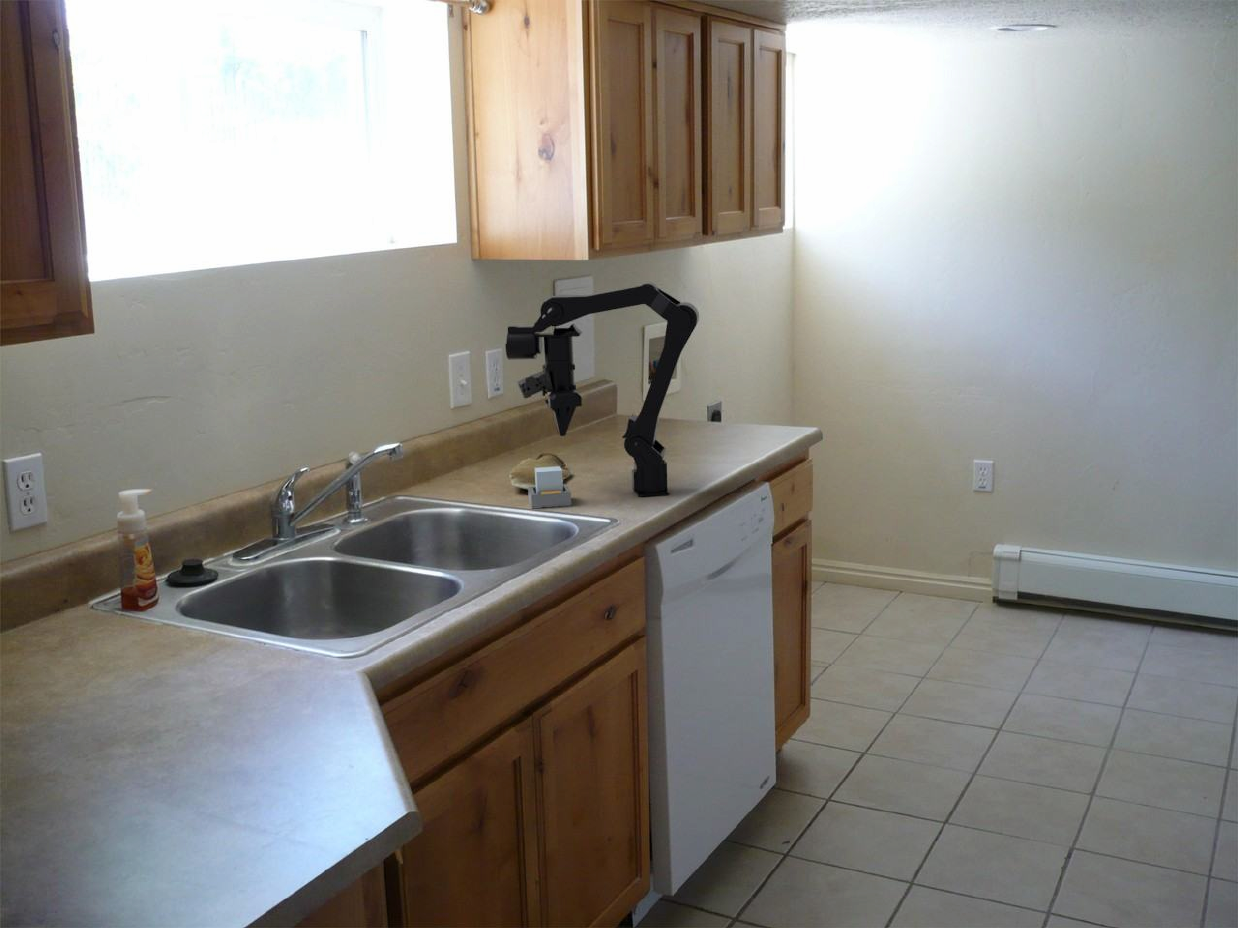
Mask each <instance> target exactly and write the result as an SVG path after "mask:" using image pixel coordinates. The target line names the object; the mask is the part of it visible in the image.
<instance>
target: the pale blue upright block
mask: <svg viewBox="0 0 1238 928" xmlns="http://www.w3.org/2000/svg"><path fill="white" fill-rule="evenodd" d="M563 484H564V481H563V482H562V470H561V468H560V466H556V467H541V468H535V485H536V493H540V492H542V491H556V490H561V492H563Z"/></svg>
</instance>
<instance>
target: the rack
mask: <svg viewBox="0 0 1238 928" xmlns="http://www.w3.org/2000/svg"><path fill="white" fill-rule="evenodd" d="M527 494H528V495H527V496H528V498H527V499H528V503H529V502H530V503H529V505H530V508H531V507H532V508H535V509H543V508H542V507H548V508H557V507H558V508H560V507H559V506H562V507H572V493H571V490H570V488H569V486H568V484H567V483H563V492H561V490H556V491H542V492H540V493H536V486H534V487H528V489H527ZM532 508H531V509H532Z"/></svg>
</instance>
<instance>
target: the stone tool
mask: <svg viewBox="0 0 1238 928" xmlns="http://www.w3.org/2000/svg"><path fill="white" fill-rule="evenodd" d="M556 466H560V468H561V470H562V482H563V483H564V480H567V479H568V478H569V477H570V476H571V474H572V471H571V470H568V469H565V468H566V466H567V465H566V464H565V462H564V461H563V460H562V459H561V458H560V457H558V455H556V454H552V453H549V452H548V453H541V454H539V455H538V457H537V458H536V459H534V458H531V457H528V458H527V459H523V460H522V461H520V462H519V463H518V464H517V465H515V466H514V467H513V468H512V469H511V470H510V472H509V479H510V483H511V486H512V487H514V488H519V489H523V490H528V487H534V486H536V485H535V468H541V467H556Z"/></svg>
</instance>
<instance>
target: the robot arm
mask: <svg viewBox="0 0 1238 928" xmlns="http://www.w3.org/2000/svg"><path fill="white" fill-rule="evenodd" d="M640 305H646V306H648V307H649V308H650V309H651V310H652V311H653V312H655V313H656V314H657V315H658V316H660V318H662V319H663V320H665V321H667V322H666V327H665V334H664V335H665V336H664V343H663V347H662V350H661V354H660V356H659V359H658V362H657V365H656V368H655V371H654V374H653V376H652V379H651V381H650V385H649V388H648V390H647V394H646V396H645V399H644V402H643V405H642V407H641V411H640V412H639V414H638V416H637V415H636V414H634V413H631V415H630V417H629V418H628V422H627V428H626V430H625V432H624V433H623V435H622V436H621V438H622V439H624V442H623V448H624V449H625V452H626V454H628V455H629V456H630V457H631V458H633V469H631V490H632V491H633V492H634V493H635V494H636V496H638V497H651V496H663V495H670V490H669V489H668V463H667V462H666V460H665V459H664V458H665V455H666V451H667V448H666V447H665V446H664V445H663V444H662V443H660V441H659V440H658V439H657V432H658V425H659V418H660V413H661V410H662V407H663V405H664V402H665V399H666V396H667V393H668V391H669V387H670V385H671V382H672V379H673V377H674V374H675V371H676V368H677V365H678V362H679V359H680V356H681V354H682V352H683V350H684V348H685V346H686V344H687V343H688V341H689V338H691V335H692V333H694V330H695V328H696V326H697V325H698V323H699V321H700V320H699V319H700V313H699V311H698V309H697V307H696V306H695V305H694V304H692V303H691V302H686V301H684V302H681V301H680V300H678V299H677V298H675V297H673V296H672V295H671V294H669V293H667V292H665V291H664V290H662V289H661V288H659V287H658V286H657V285H656V284H655V283H652V282H645V283H642V284H640V285H634V286H629V287H624V288H619V289H613V290H608V291H602V292H598V293H592V294H556V295H553V296H551V297H549V298H547V299H545V300H544V301H543V302H542V304H541V307H540V315H539V316H538V317H539V318H538V319H537V320H536V321H535V322H534V323H533V324H534V325H530V326H529V325H528V326H527V325H526V326H524V325H523V326H521V325H509V326H507V334H506V339H505V340H506V343H505V347H504V348H505V355H506V358H507V360H509V361H511V360H512V361H516V360H517V361H518V360H519V361H524V360H525V361H526V360H537V358H538V356H539V355H542V353H544V363H543V364H542V371H540V372H536V373H534V374H529V376H526V377H524V378H522V379H520V380H518V381H517V382H516V383H517V386H518V388H519V390H520V393H521V394H522V397H523V399H524V400H526V399H528V398H531V397H532V396H534V395H535V394H537V393H540V394H541V396H542V397H545V396H546V395H547V394H548V395H547V399H545V400H544V402H545V403H546V405H547V406H548V407H549V408H550V409H551V411H553V415H554V419H555V423H556V427H557V429H558V433H559V434H558V435H559V436H560V437H565V436H566V434H567V432H568V429H569V426H570V423H571V421H572V419H573V416H574V414H575V411H576V409H577V407H582V406H583V404H582V403H583V401H582V396H581V395H580V393H579V392H578V391H577V387H576V386H577V384H575V372H574V371H575V370H576V364H575V363H574V348H573V347H574V343H573V337H580V336H581V335H582V334H583V331H582V330H581V329H579V328H578V326H576V324H575V323H572V324H571V325H570V326H569V327H559V326H563V325H565V324H567V323H570V322H573V321H575V320H577V319H580V318H583V317H585V316H588V315H592V314H597V313H603V312H609V311H613V310H619V309H623V308H630V307H635V306H640ZM550 327H555V328H554V329H553V332H545V331H546V330H548V329H549V328H550ZM543 351H544V352H543Z"/></svg>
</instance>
